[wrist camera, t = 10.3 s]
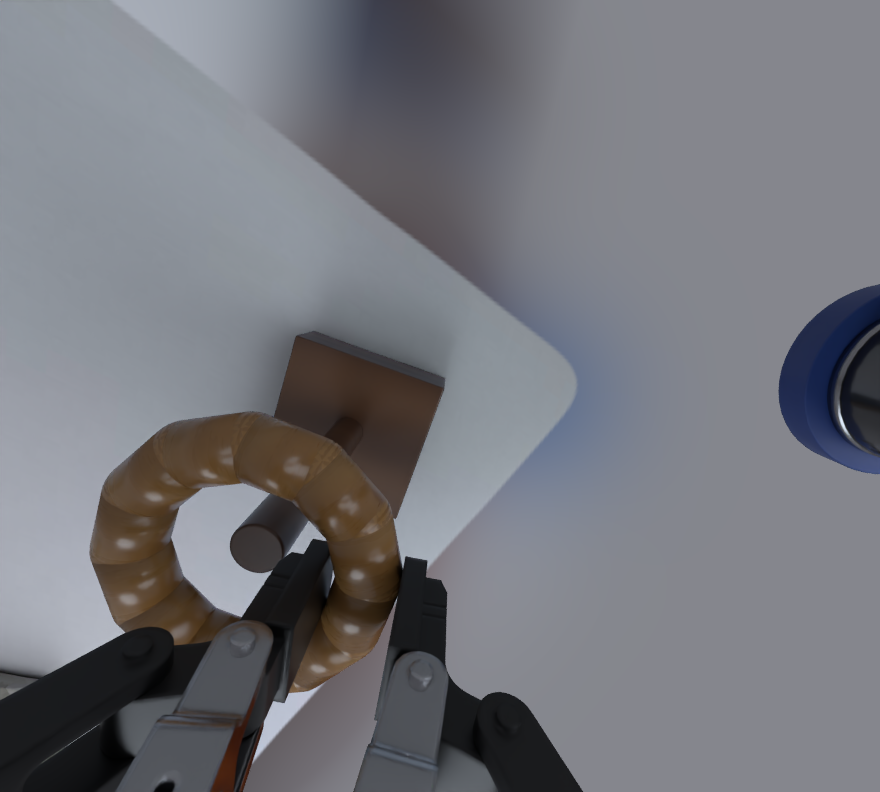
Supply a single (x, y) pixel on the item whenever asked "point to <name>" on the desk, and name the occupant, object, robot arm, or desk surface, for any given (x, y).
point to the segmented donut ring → (274, 471)
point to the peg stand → (344, 431)
